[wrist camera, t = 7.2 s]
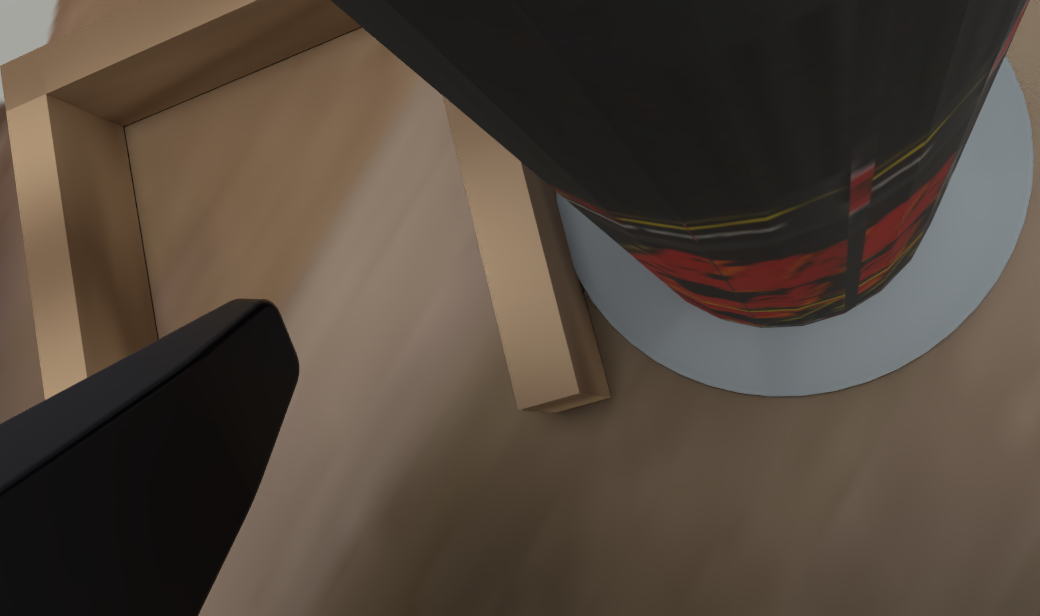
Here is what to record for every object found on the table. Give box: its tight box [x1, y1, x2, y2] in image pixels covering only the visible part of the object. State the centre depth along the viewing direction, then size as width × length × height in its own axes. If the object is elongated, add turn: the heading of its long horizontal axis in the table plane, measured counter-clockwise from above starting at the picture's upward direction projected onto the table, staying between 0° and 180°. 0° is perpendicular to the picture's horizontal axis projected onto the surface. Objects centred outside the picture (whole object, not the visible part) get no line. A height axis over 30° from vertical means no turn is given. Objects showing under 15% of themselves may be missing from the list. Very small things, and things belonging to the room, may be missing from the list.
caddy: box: [0, 0, 611, 412], centre depth 21 cm, size 11×12×2 cm
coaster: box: [556, 56, 1034, 397], centre depth 18 cm, size 9×9×1 cm
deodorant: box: [331, 0, 1030, 328], centre depth 11 cm, size 6×6×15 cm
